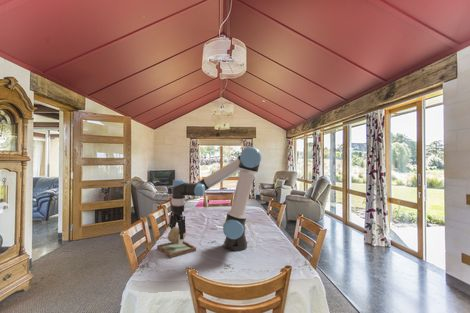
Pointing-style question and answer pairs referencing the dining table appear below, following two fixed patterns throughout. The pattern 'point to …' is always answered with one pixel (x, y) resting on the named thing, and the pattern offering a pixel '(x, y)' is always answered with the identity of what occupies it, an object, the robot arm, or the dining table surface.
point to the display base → (176, 249)
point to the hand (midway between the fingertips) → (176, 242)
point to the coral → (174, 235)
